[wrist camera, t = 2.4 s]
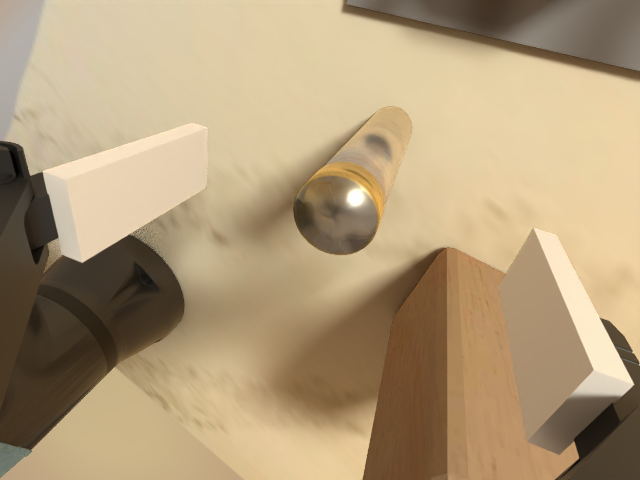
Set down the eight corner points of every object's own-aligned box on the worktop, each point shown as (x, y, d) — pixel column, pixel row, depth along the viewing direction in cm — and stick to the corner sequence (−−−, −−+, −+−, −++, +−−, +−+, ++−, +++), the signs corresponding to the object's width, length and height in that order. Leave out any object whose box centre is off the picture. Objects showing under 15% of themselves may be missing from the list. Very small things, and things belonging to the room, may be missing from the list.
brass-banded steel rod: (363, 144, 28) (287, 239, 15) (374, 100, 26) (301, 163, 13) (404, 156, 28) (365, 265, 14) (419, 112, 26) (390, 190, 12)
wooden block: (390, 317, 35) (339, 568, 18) (445, 238, 30) (444, 493, 13) (484, 365, 35) (520, 671, 18) (558, 294, 29) (710, 638, 12)
